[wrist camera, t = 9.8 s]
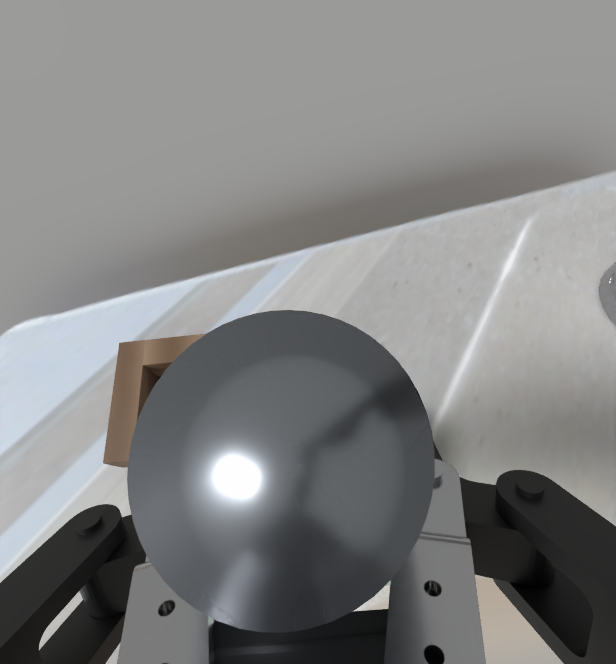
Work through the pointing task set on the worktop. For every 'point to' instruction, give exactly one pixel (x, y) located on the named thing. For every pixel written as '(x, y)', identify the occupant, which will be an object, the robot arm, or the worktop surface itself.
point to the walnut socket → (137, 388)
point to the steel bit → (281, 471)
